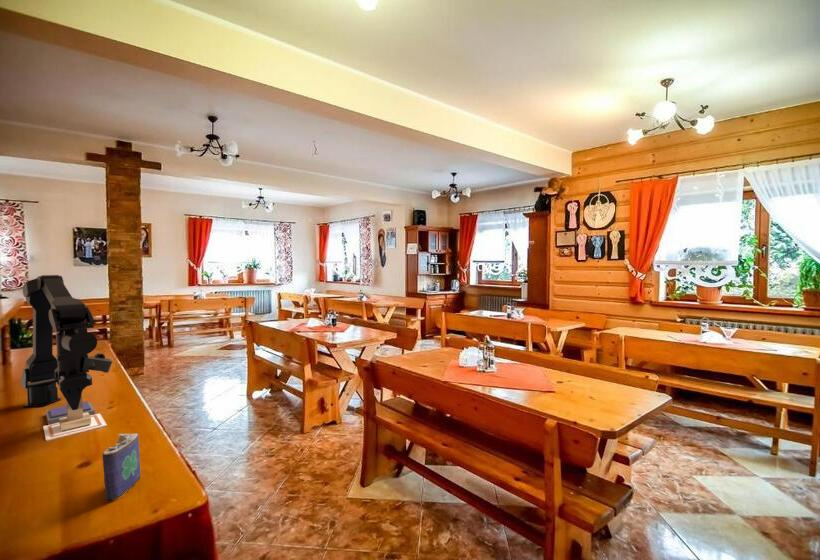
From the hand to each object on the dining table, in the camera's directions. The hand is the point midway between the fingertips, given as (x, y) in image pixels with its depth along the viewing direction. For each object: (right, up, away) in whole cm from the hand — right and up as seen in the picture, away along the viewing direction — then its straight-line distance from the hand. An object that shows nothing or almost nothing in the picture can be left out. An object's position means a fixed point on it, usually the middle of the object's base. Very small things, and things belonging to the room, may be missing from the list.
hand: (74, 407), depth 104 cm
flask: (+35, -6, -29) cm, 46 cm away
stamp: (0, -5, 0) cm, 5 cm away
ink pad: (-9, -5, +9) cm, 14 cm away
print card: (0, -5, 0) cm, 5 cm away
